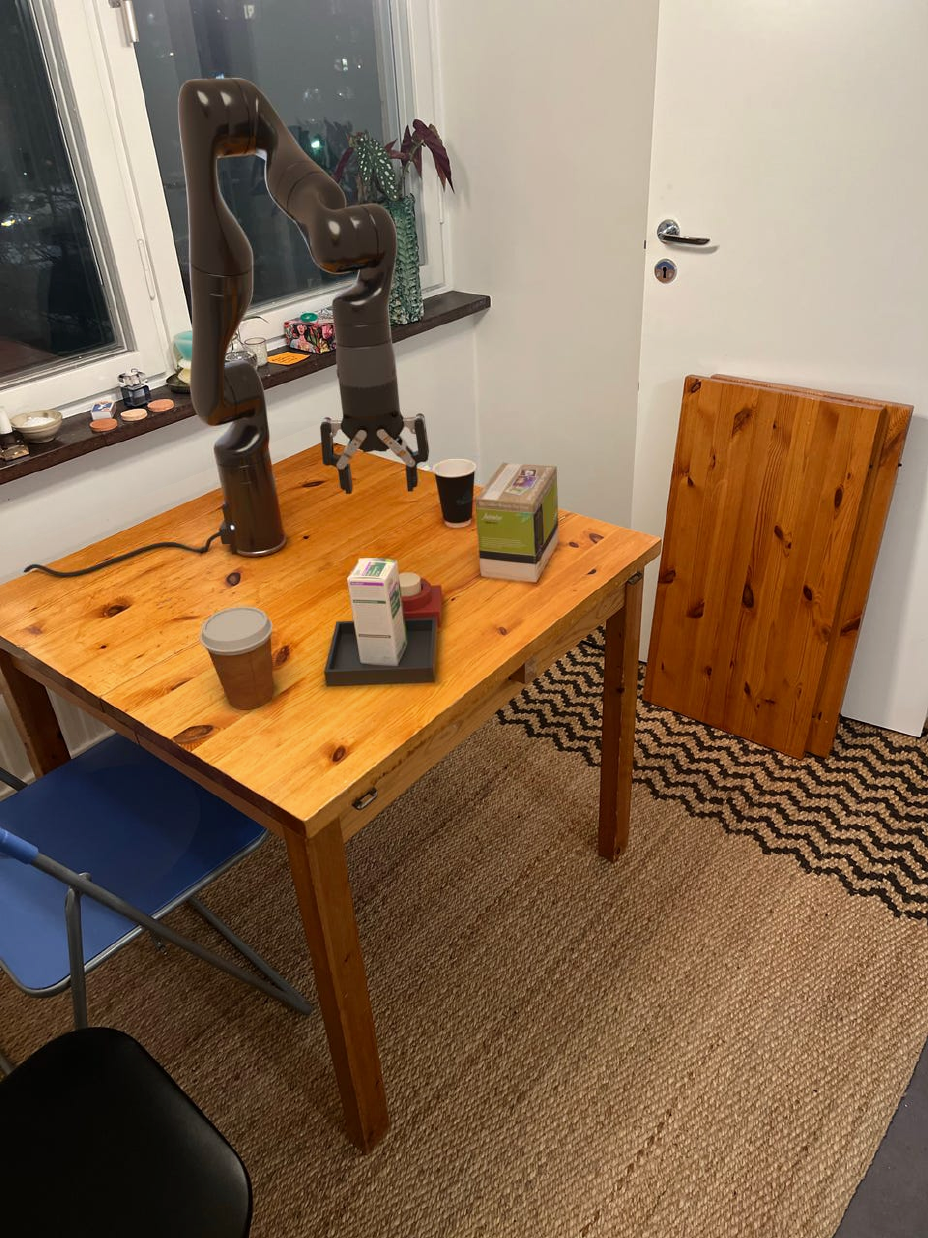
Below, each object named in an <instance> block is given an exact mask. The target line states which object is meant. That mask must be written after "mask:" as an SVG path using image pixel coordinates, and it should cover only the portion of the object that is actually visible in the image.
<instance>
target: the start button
mask: <svg viewBox="0 0 928 1238" xmlns="http://www.w3.org/2000/svg"><path fill="white" fill-rule="evenodd" d="M420 578H421V576H420V575H419V574H417V573H414V572H401V573H399V580H400V588H401V595H402V597H404V596H412V595H416V594H418V593H419V592H421V580H420Z"/></svg>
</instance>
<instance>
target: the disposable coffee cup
mask: <svg viewBox="0 0 928 1238" xmlns="http://www.w3.org/2000/svg"><path fill="white" fill-rule="evenodd" d="M272 631H273V622H272V620H271V619H270V618H269V617H268V615H267V614H266V612H265V611H264V610H261V609H260V608H257V607H253V606H233V607H229V608H226V609H223V610H220V611H218V612H216V613H214V614H212V615H210V616H209V617H208V618H207V619H206V620H205V621H204V622H203V624H202V625H201V633H200V635H199V640H200V643H201V644H202V646H203V647H204V648H205V650H206V651H207V653H208V655H209V658H210V660H211V662H212V665H213V667H214V669H215V672H216V675H217V677H218V679H219V682H220V684H221V686H222V689H223V692H224V694H225V697H226V699H227V701H228V704H229V705H231V707H232V708H235V709H238V710H253V709H256V708H260V707H262V706H264V705H266V704H267V703H268V702H269V701H271V699H272V698H273V697H274V693H275V690H274V674H273V658H272V657H273V656H272V655H273V654H272V641H271V640H272V639H271V636H272Z"/></svg>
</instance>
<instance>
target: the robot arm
mask: <svg viewBox="0 0 928 1238" xmlns="http://www.w3.org/2000/svg"><path fill="white" fill-rule="evenodd" d="M177 118H178V119H177V120H178V130H179V138H180V145H181V146H180V147H181V154H182V156H181V157H182V164H183V171H184V179H185V188H186V200H187V201H186V202H187V215H188V216H187V218H188V219H187V220H188V221H187V222H188V261H189V262H188V264H189V265H188V266H189V283H190V294H191V316H192V320H191V321H192V339H191V340H192V343H191V355H190V356H191V358H190V369H189V370H190V373H189V377H190V378H189V389H190V398H191V403H192V406H193V409H194V412H195V413H196V415H197V417H198V419H199V420H200V421H201V422H202V423H203V424H204V425H207V426H209V427H218V426H223V425H227V424H230V423H231V424H230V426H229V428H227V430H226V431H225V432H224V433H223V435H221V436H220V437H219V438H218V439H217V440H216V441H215V442H214V444H213V455H214V459H215V463H216V468H217V473H218V478H219V482H220V487H221V491H222V497H223V503H222V504H221V509H222V514H223V521H222V522H221V524H220V526H219V528H218V532H216V533H214V534H212V535H210V537H208V539H207V540H206V542H205V546H204V547H201V548H198V549H197V548H192V547H190V546H187V545H183V544H181V543H179V542H173V541H164V542H162V541H161V542H156V543H153V544H149V545H145V546H143V547H140V548H138V549H135V550H133V551H129V552H128V553H125V554H122V555H119V556H116V557H113V558H110V559H107V560H105V561H102V562H100V563H97V564H94V565H92V566H89V567H86V568H83V569H79V570H75V571H69V572H67V571H66V572H65V571H58V570H54V569H51V568H50V567H47V566H44V565H41V564H38V563H32V564H29V565H28V566H26V568H24V570H23V573H26V574H27V573H29V572H30V571H31V570H33V569H38V570H41V571H44V572H46V573H48V574H50V575H53V576H56V577H57V576H58V577H74V576H79V575H83V574H84V575H85V574H86V573H89V572H93V571H95V570H97V569H100V568H103V567H106V566H108V565H111V564H114V563H115V562H119V561H122V560H125V559H128V558H131V557H133V556H135V555H138V554H141V553H143V552H146V551H149V550H151V549H156V548H160V547H174V548H175V547H176V548H179V549H182V550H186V551H189V552H194V553H198V554H199V553H200V554H201V553H205V552H207V551H208V550H209V549H210V546H211V543H212V541H214V540H215V539H216V538H218V537H220V541H221V545H229V546H230V551H231V554H232V555H238V556H239V555H240V556H242V557H249V558H259V557H263V556H269V555H272V554H274V553H276V552H278V551H280V550H282V549H283V548H284V547H285V545H286V544H287V538H286V534H285V530H284V525H283V524H284V523H283V519H282V513H281V507H280V501H279V496H278V491H277V486H276V479H275V473H274V468H273V464H272V458H271V457H272V456H271V452H270V438H271V434H270V426H269V419H268V411H267V402H266V395H265V390H264V386H263V383H262V380H261V379H262V378H261V376H260V374H259V372H258V370H257V369H256V368H255V366H254V365H253V364H252V363H251V362H249V361H248V360H245V359H235V360H234V359H233V360H231V361H227V362H226V358H227V354H228V350H229V347H230V346H231V342H232V340H233V338H234V337H235V334H236V333H237V331H238V329H239V327H240V325H241V324H242V321H243V320H244V318H245V316H246V314H247V312H248V310H249V308H250V305H251V302H252V299H253V293H254V271H255V269H254V267H255V266H254V264H255V262H254V250H253V248H252V245H251V243H250V240H249V238H248V236H247V235H246V233H245V232H244V230H243V228H242V227H241V225H240V223H239V222H238V221H237V219H236V217H235V216H234V215H233V213H232V212H231V209H229V207H228V205H227V203H226V202H225V201H226V200H225V199H224V197H223V195H222V191H221V188H220V184H219V178H218V159H221V158H232V157H233V158H234V157H243V156H249V155H255V156H257V157H259V158H261V159H262V160H264V161H265V163H264V183H265V185H266V189H267V191H268V194H269V196H270V197H271V199H272V200H273V202H274V203H275V205H276V206H277V207H278V208H279V209H280V210H281V212H283V213H284V214H285V215H286V216H287V217H288V218H289V219H290V221H292V222H293V223H294V224H295V226H297V228H298V231H299V232H300V234H301V236H302V238H303V240H304V242H305V244H306V247H307V249H308V252H309V254H310V257H311V259H312V260H313V262H314V263H315V265H316V266H317V267H318V268H319V269H321V270H322V271H323V272H324V271H325V272H327V273H329V274H334V275H342V274H347V273H351V272H356V271H358V272H357V276H356V278H355V281H354V282H353V283H352V285H350V286H349V287H347V288H346V289H343V290H342V291H340V292H339V293H337V294H336V295H335V296H334V297H333V299H332V301H331V312H332V320H333V321H332V322H333V329H334V338H335V347H336V348H335V350H336V352H335V360H336V375H337V379H338V387H339V394H340V401H341V409H342V410H341V411H342V418H341V419H332V418H331V417H329V416H326V417H324V418H323V419H322V421H321V424H320V426H319V431H320V444H321V457H322V464H323V465H324V466H326V467H329V466H333V467H335V468H336V469H337V471H338V472H337V473H338V478H339V487H340V489H341V491H345V494H346V495H352V493H353V490H354V485H353V478H352V469H351V463H349V462H350V461H351V460H352V458H353V457H354V456H355V454H356V453H357V451H358V450H360V451H362V452H363V453H371V452H374V451H375V452H380V453H382V452H383V453H385V452H387V451H388V450H390V451H391V452H392V453H393V454H394V455H395V456H396V457H398V458H399V459H400V460H402V462H403V463H404V464H405V476H406V477H405V478H406V489H407V492H408V493H409V492H414V488H417V487H418V482H419V474H418V465H419V464H420V463H426V462H428V461H429V455H430V447H429V440H428V432H427V424H426V418H425V415H424V414H423V413H421V412H420V413H417V414H416V415H415V416H411V417H410V416H409V417H408V416H407V417H404V416H403V414H402V412H401V406H400V394H399V384H398V374H397V361H396V354H395V349H394V344H393V338H392V329H391V318H390V310H389V309H390V308H389V306H390V299H391V292H392V285H393V279H394V273H395V267H396V261H397V260H396V259H397V254H398V233H397V228H396V225H395V222H394V220H393V218H392V216H391V214H390V213H389V212H388V211H387V209H386V208H384V207H383V206H382V205H380V204H377V203H363V204H358V205H352V206H351V205H350V206H347V198H346V195H345V193H344V191H343V189H342V188H341V186H340V185H339V184H338V183H337V182H336V181H335V180H334V179H333V178H332V177H331V176H330V175H329V174H328V173H327V172H326V171H325V170H324V169H322V167H321V166H320V165H318V164H317V163H316V162H315V161H314V160H313V159H312V158H311V157H310V156H309V155H308V154H307V153H306V152H305V151H304V150H303V149H302V147H301V146H300V145H299V143H298V141H297V140H296V139H295V137H294V136H293V135H292V133H291V131H290V130H289V128H288V127H287V125H286V124H285V122H284V121H283V119H282V118H281V116H280V115H279V113H278V112H277V111H276V109H275V108H274V107H273V105H272V104H271V102H270V101H269V99H268V98H267V97H266V96H265V94H264V93H263V91H261V89H259V86H257V85H256V84H254V83H253V82H252V81H250V80H247V79H244V78H240V77H222V78H221V77H220V78H219V77H218V78H217V77H216V78H199V79H198V78H196V79H189V80H186V81H185V82H184V83H183V84H182V85H181V87H180V90H179V94H178V101H177ZM404 428H408V430H409V432H410V433H411V434H412V435H415V439H416V445H417V450H416V451H414V450H413V449H412V448H411V447H410V446H409V445H408V443H407V441H406V439H404V437H403V436H401V434H402V432H403V430H405V429H404ZM340 430H341V432H342V433H343V434H344V435H345V437H347V438H348V439H349V440H348V442H347V443H346V445H345V447H344V449H343V450H342V451H341V453H340V454H339V453H335V445H334V438H335V437H336V436H337V434H338V431H340Z"/></svg>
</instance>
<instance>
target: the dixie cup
mask: <svg viewBox="0 0 928 1238" xmlns="http://www.w3.org/2000/svg"><path fill="white" fill-rule="evenodd" d="M476 470H477V465H476V463H475V462H474V461H473V460H470V459H467V458H466V459H465V458H450V459H444V460H441V461H438V462H436V463H435V464H434V465H433V466H432V473H433V474H434V479H435V483H436V487H437V494H438V498H439V503H440V508H441V515H442V519H443V521H444V524H445V525H446V527H449V528H454V529H457V528H460V529H461V528H464V527H467V526H469V525H470V524H471V521H472V518H473V509H474V492H475V491H474V488H475V476H476V475H475V473H476Z"/></svg>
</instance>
